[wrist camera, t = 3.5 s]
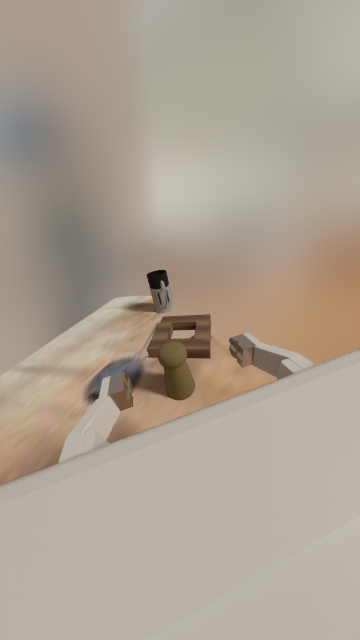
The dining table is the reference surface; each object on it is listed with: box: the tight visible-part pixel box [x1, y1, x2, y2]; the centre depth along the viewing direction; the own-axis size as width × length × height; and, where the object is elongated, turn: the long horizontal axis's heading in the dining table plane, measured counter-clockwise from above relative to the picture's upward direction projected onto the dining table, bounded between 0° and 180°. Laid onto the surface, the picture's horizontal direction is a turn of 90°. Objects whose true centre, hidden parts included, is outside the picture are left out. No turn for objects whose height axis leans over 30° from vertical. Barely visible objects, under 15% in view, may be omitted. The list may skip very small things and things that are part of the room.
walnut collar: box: [147, 314, 211, 358], centre depth 45 cm, size 16×16×3 cm
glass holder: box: [147, 270, 175, 313], centre depth 59 cm, size 9×14×15 cm, turn 19°
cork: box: [158, 341, 195, 400], centre depth 29 cm, size 6×6×11 cm
